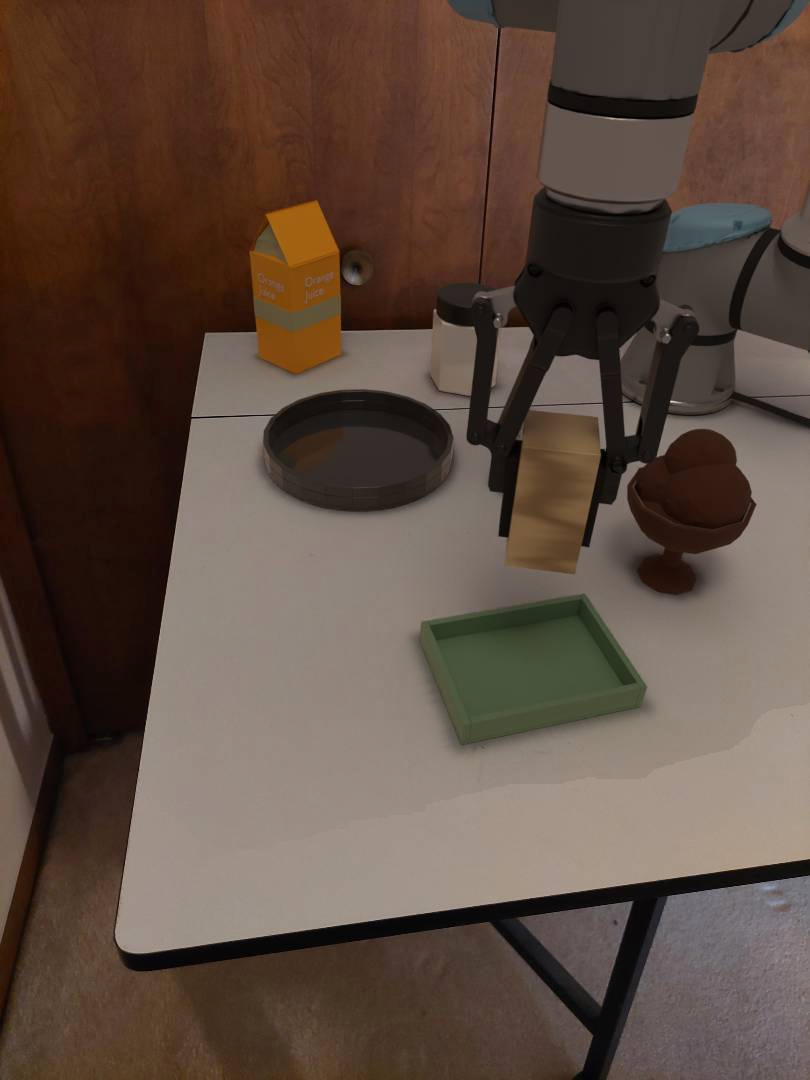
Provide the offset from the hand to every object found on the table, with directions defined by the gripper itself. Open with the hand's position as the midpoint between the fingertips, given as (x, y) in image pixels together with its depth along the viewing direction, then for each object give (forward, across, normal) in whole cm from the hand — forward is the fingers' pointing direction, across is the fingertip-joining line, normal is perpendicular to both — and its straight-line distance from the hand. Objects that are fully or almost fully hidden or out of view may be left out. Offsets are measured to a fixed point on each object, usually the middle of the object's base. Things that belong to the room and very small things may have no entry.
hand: (543, 530), depth 58 cm
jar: (+14, +10, -50) cm, 53 cm away
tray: (+14, -1, +1) cm, 14 cm away
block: (+2, 0, 0) cm, 2 cm away
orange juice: (+15, +33, -53) cm, 64 cm away
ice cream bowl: (+15, -14, -14) cm, 25 cm away
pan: (+14, +20, -29) cm, 38 cm away
